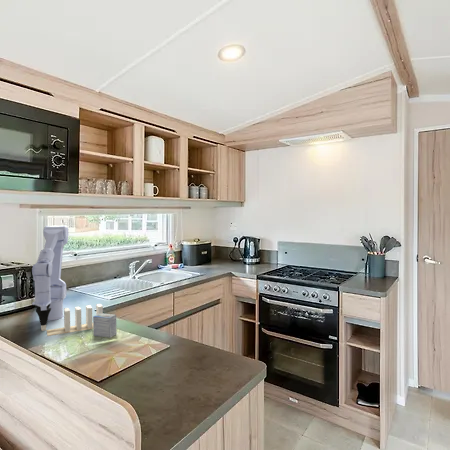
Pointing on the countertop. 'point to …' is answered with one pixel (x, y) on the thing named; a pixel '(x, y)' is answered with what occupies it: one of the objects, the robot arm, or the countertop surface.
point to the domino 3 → (78, 318)
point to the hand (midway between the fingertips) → (43, 323)
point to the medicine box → (104, 325)
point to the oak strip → (62, 330)
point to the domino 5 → (99, 309)
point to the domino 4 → (89, 316)
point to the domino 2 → (66, 319)
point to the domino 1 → (43, 328)
